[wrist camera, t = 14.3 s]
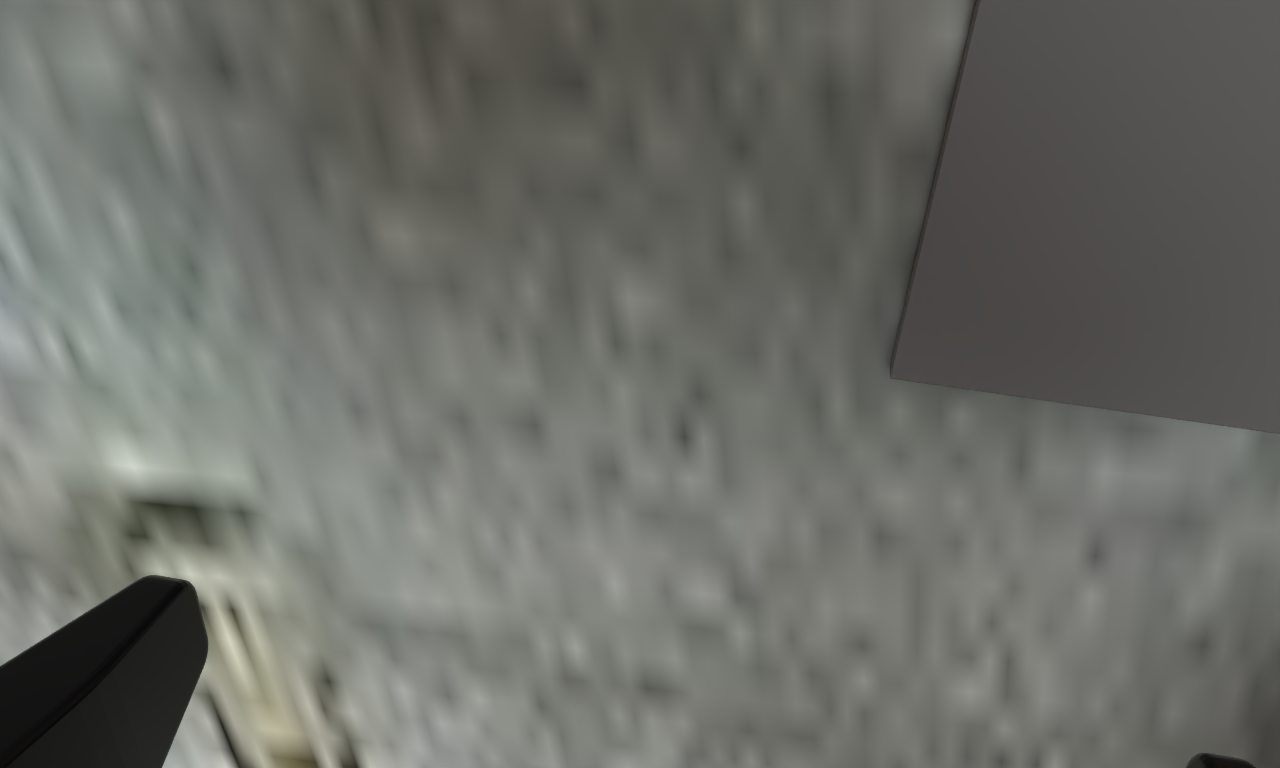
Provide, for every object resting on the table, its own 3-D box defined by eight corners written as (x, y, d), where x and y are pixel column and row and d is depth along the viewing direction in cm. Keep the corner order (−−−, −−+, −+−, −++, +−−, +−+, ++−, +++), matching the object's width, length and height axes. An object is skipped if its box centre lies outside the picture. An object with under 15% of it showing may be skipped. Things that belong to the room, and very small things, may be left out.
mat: (1425, 442, 21) (1434, 455, 20) (890, 367, 22) (890, 378, 21) (1778, -136, 15) (1799, -130, 14) (1024, -204, 16) (1028, -200, 15)
